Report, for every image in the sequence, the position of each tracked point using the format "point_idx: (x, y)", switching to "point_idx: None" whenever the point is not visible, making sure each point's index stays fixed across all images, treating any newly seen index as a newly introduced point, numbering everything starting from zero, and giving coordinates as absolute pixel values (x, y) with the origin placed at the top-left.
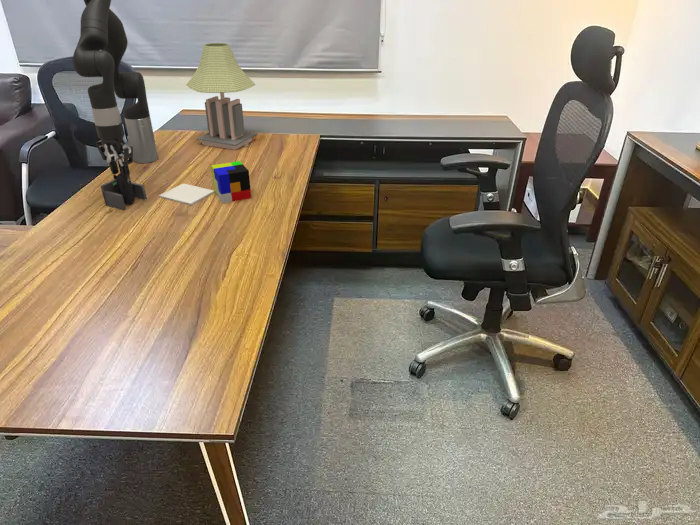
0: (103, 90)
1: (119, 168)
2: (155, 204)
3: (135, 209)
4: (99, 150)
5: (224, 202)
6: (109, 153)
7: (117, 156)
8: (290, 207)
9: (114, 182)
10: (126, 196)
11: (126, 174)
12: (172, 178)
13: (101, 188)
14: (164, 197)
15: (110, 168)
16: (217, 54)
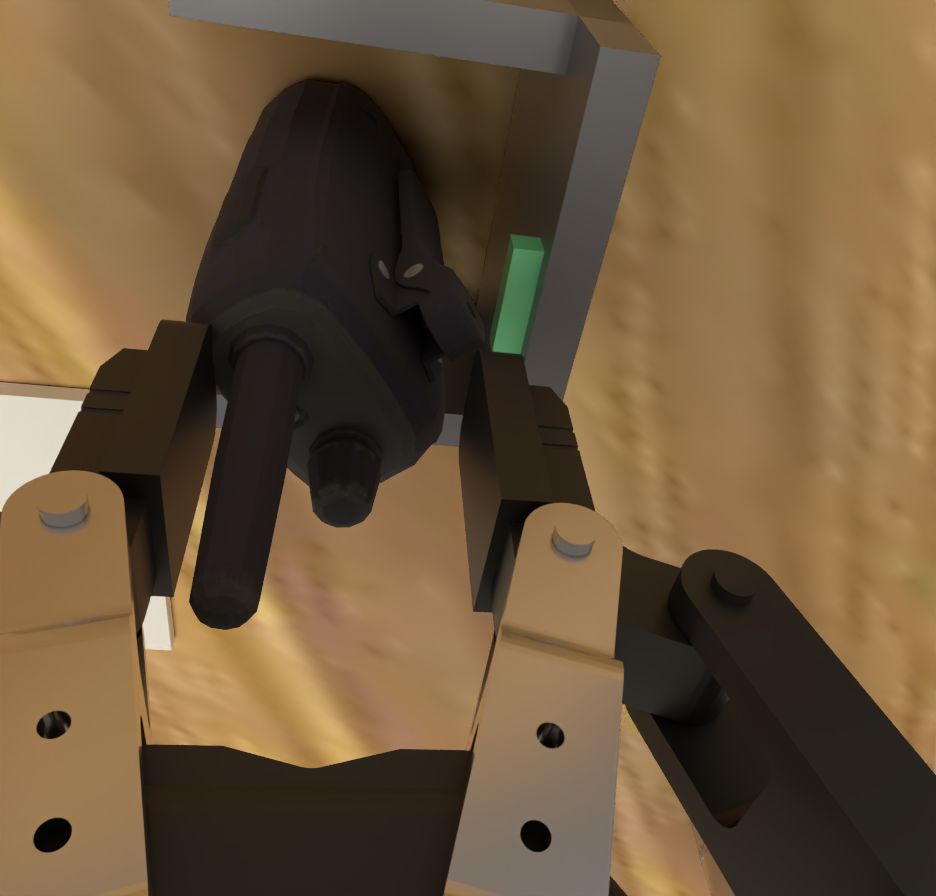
0: None
1: (250, 437)
2: (5, 233)
3: (91, 5)
4: (918, 792)
5: None
6: (473, 758)
7: (1, 699)
8: None
9: (535, 289)
10: (259, 128)
11: (108, 365)
12: (367, 684)
13: (633, 35)
14: (56, 395)
15: (567, 433)
16: None
